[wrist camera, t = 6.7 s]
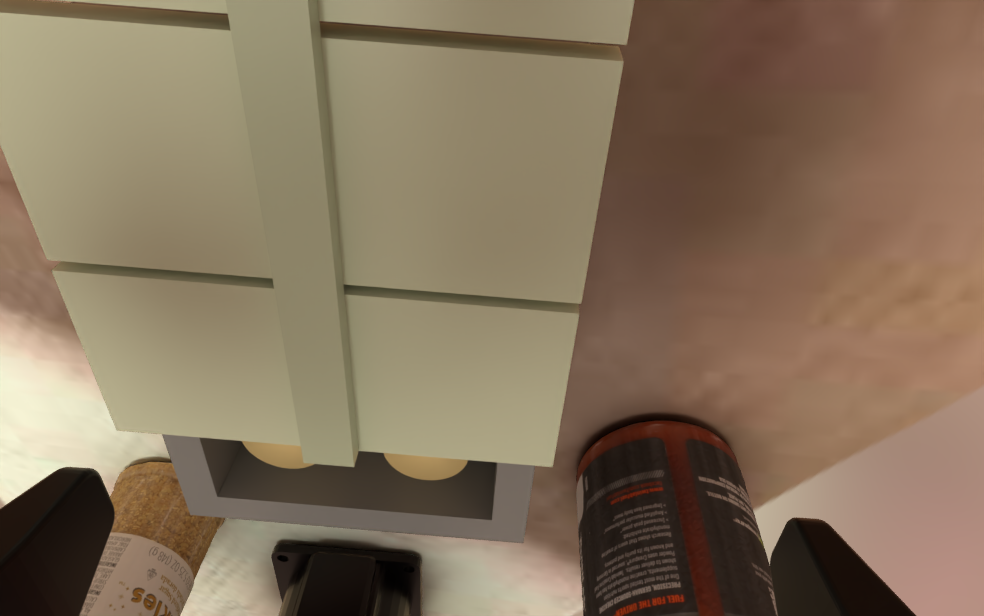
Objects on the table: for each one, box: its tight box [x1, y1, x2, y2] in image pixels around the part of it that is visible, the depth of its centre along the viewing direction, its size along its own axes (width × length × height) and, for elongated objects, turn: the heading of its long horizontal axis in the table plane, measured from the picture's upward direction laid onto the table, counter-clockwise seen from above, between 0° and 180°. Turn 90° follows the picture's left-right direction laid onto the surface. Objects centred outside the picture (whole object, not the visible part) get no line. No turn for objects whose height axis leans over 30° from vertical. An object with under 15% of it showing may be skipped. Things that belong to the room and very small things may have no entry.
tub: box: [72, 2, 589, 543], centre depth 18 cm, size 14×10×5 cm
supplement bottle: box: [576, 421, 778, 616], centre depth 21 cm, size 6×6×11 cm
